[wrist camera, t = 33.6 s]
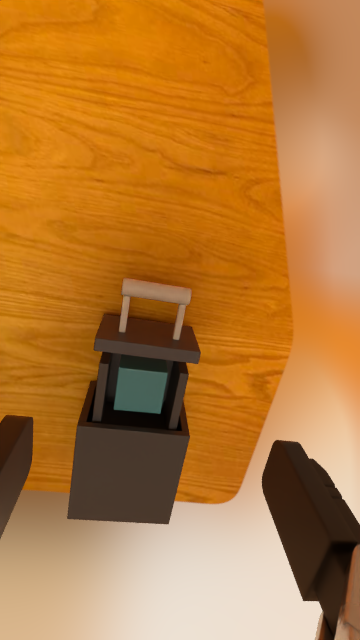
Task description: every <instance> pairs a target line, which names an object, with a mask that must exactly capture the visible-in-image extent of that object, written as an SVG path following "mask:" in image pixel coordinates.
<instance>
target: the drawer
mask: <svg viewBox="0 0 360 640" xmlns="http://www.w3.org/2000/svg"><path fill="white" fill-rule="evenodd" d="M121 294H122V295H124V296H123V303H122V310H121V316H114V315H107V314H104V315H103V318H102V321H101V323H100V326H99V329H98V332H97V335H96V337H95V343H94V351H102V352H103V353H102V356H101V360H100V363H99V371H98V379H97V387H96V395H95V403H94V411H93V419H92V423H101V424H111V425H122V426H132V427H142V428H153V429H163V430H173V431H176V429H177V424H178V420H179V415H180V411H181V406H182V402H183V397H184V393H185V389H186V384H187V380H188V375H189V374H188V370H187V366H186V362H187V363H195V364H198V362H199V358H200V354H201V352H200V349H199V346H198V343H197V340H196V337H195V334H194V332H193V329H192V327H190V326H183V325H182V323H183V318H184V313H185V308H186V305H189V303H190V299H191V289H190V288H184V287H178V286H172V285H166V284H160V283H154V282H148V281H141V280H135V279H129V278H124V279H123V285H122V293H121ZM130 296H133V297H139V298H146V299H152V300H159V301H165V302H171V303H178V304H179V306H178V311H177V316H176V321H175V324H169V323H162V322H155V321H149V320H142V319H135V318H128V310H129V303H130ZM121 354H125V355H133V356H140V357H148V358H156V359H164V360H166V361H167V370H168V376H167V381H166V387H165V392H164V398H163V403H162V409H161V413H160V414H158V413H147V412H136V411H125V410H114V401H115V393H116V385H117V378H118V370H119V363H120V357H121Z"/></svg>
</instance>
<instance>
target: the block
mask: <svg viewBox="0 0 360 640" xmlns="http://www.w3.org/2000/svg"><path fill="white" fill-rule="evenodd" d="M167 376H168V370H167V361H166V360H164V359H156V358H148V357H140V356H133V355H125V354H121V357H120V363H119V370H118V378H117V385H116V393H115V401H114V410H125V411H136V412H147V413H158V414H160V413H161V409H162V403H163V398H164V392H165V387H166V381H167Z"/></svg>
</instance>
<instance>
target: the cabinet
mask: <svg viewBox="0 0 360 640" xmlns="http://www.w3.org/2000/svg"><path fill="white" fill-rule="evenodd" d="M96 387H97V381H91V382H90V385H89V388H88V392H87V395H86V398H85V402H84V405H83V408H82V412H81V415H80V418H79V422H78V425H77V432H76V441H75V451H74V460H73V469H72V479H71V488H70V498H69V507H68V516H67V518H68V519H79V520H98V521H117V522H136V523H155V524H169V520H170V516H171V512H172V508H173V504H174V500H175V496H176V492H177V487H178V483H179V479H180V475H181V471H182V467H183V463H184V459H185V455H186V450H187V446H188V442H189V438H190V435H189V430H188V424H187V418H186V413H185V407H184V402H182V406H181V411H180V415H179V420H178V424H177V429H176V431H173V430H163V429H153V428H142V427H132V426H122V425H111V424H101V423H92V419H93V411H94V403H95V395H96Z"/></svg>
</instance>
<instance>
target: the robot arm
mask: <svg viewBox="0 0 360 640" xmlns="http://www.w3.org/2000/svg"><path fill="white" fill-rule="evenodd" d="M32 448H33V418H32V417H26V416H15V415H6V416H5V417H4V418H3V420H2V421H1V423H0V538H1V536H2V534H3V532H4V529H5V527H6V525H7V522H8V520H9V518H10V515H11V513H12V511H13V508H14V506H15V504H16V502H17V499H18V497H19V495H20V492H21V490H22V488H23V486H24V483H25V481H26V479H27V476H28V473H29V470H30V466H31V461H32ZM262 488H263V493H264V496H265V499H266V501H267V504H268V507H269V510H270V512H271V515H272V518H273V520H274V523H275V526H276V529H277V531H278V534H279V536H280V539H281V542H282V545H283V547H284V550H285V553H286V556H287V558H288V561H289V564H290V566H291V569H292V572H293V574H294V577H295V580H296V583H297V585H298V588H299V591H300V593H301V596H302V599H303V601H319V603H320V605H321V608H322V610H323V611H322V613H321V615H320V618H319V623H318V627H317V632H316V637H315V640H360V524H359V523H358V521H357V520H356V518H355V516H354V515H353V513H352V512H351V510H350V508H349V507H348V505H347V504H346V502H345V500H343V499H342V496H341V494H340V492H339V491H338V489H337V488H335V484H334V483H333V481H332V480H331V478H330V476H329V475H328V473H327V472H326V471H325V470H324V469H323V468H322V467H321V466H320V465H319V464H318V463H317V462H316V461H315V460H314V459H309V458H308V456H307V454H306V453H305V451H304V449H303V448H302V446H301V445H300V444H299V443H298V442H293V441H282V440H276V441H275V442H274V443H273V445H272V448H271V451H270V454H269V457H268V460H267V463H266V466H265V469H264V472H263V476H262Z"/></svg>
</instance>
